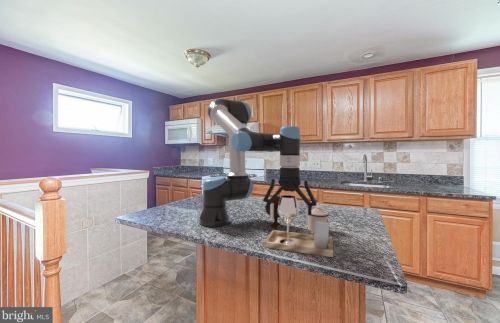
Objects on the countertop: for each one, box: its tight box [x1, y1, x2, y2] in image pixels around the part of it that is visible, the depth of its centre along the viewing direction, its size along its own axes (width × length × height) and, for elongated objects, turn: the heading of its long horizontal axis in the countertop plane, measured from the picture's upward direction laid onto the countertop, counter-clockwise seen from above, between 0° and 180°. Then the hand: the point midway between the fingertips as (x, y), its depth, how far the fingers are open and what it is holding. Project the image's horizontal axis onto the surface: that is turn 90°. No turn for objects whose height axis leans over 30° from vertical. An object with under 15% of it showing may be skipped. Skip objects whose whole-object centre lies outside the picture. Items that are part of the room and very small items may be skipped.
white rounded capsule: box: [313, 221, 330, 250], centre depth 82 cm, size 5×5×9 cm
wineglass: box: [278, 194, 300, 245], centre depth 86 cm, size 8×8×18 cm
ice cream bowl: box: [264, 195, 282, 228], centre depth 111 cm, size 11×11×15 cm
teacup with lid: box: [307, 205, 330, 233], centre depth 103 cm, size 12×9×12 cm
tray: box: [263, 229, 334, 258], centre depth 85 cm, size 24×14×3 cm, turn 71°
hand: (288, 221), depth 86 cm, fingers open, 13 cm apart
